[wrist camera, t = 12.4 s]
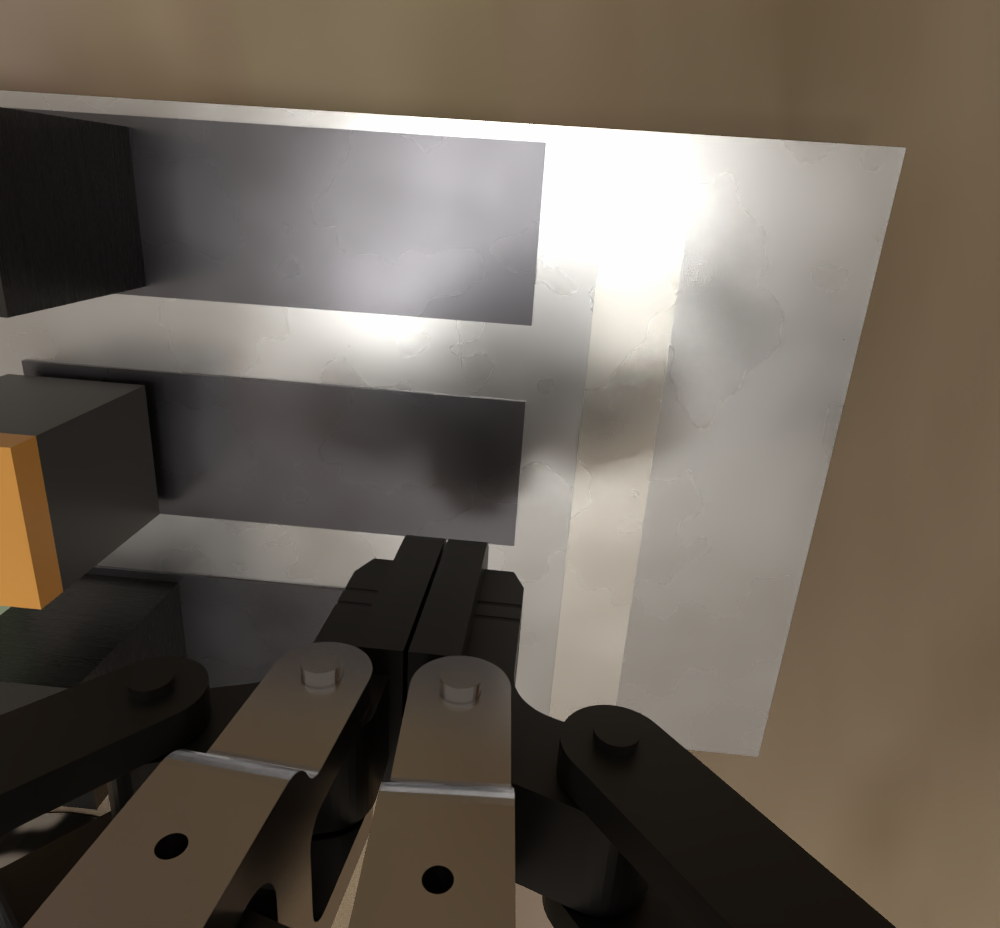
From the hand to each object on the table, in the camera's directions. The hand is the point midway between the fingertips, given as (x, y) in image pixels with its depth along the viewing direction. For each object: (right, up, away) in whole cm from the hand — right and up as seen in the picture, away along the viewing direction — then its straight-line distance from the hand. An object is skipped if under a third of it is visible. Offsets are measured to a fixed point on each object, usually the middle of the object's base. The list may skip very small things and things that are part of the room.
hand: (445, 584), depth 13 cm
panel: (-4, +3, +5) cm, 7 cm away
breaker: (-8, +3, +3) cm, 9 cm away
